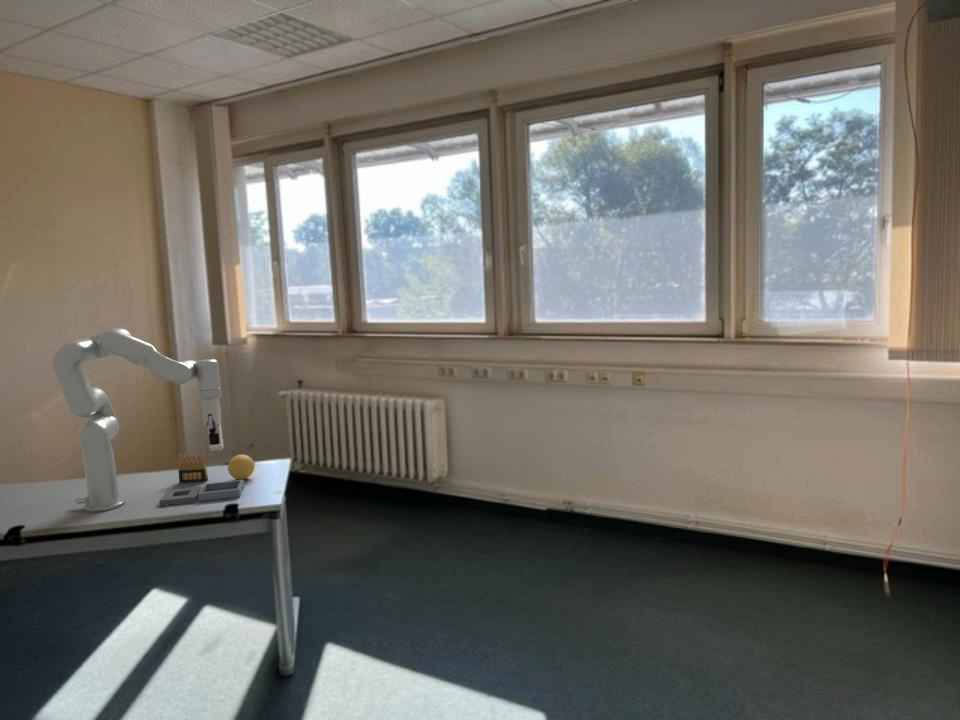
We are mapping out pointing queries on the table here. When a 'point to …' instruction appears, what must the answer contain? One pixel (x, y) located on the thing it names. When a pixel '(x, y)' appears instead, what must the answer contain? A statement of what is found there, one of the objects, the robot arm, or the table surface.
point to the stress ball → (241, 467)
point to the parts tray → (221, 490)
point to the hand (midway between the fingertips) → (215, 442)
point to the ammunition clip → (192, 468)
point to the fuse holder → (180, 496)
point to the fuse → (220, 445)
